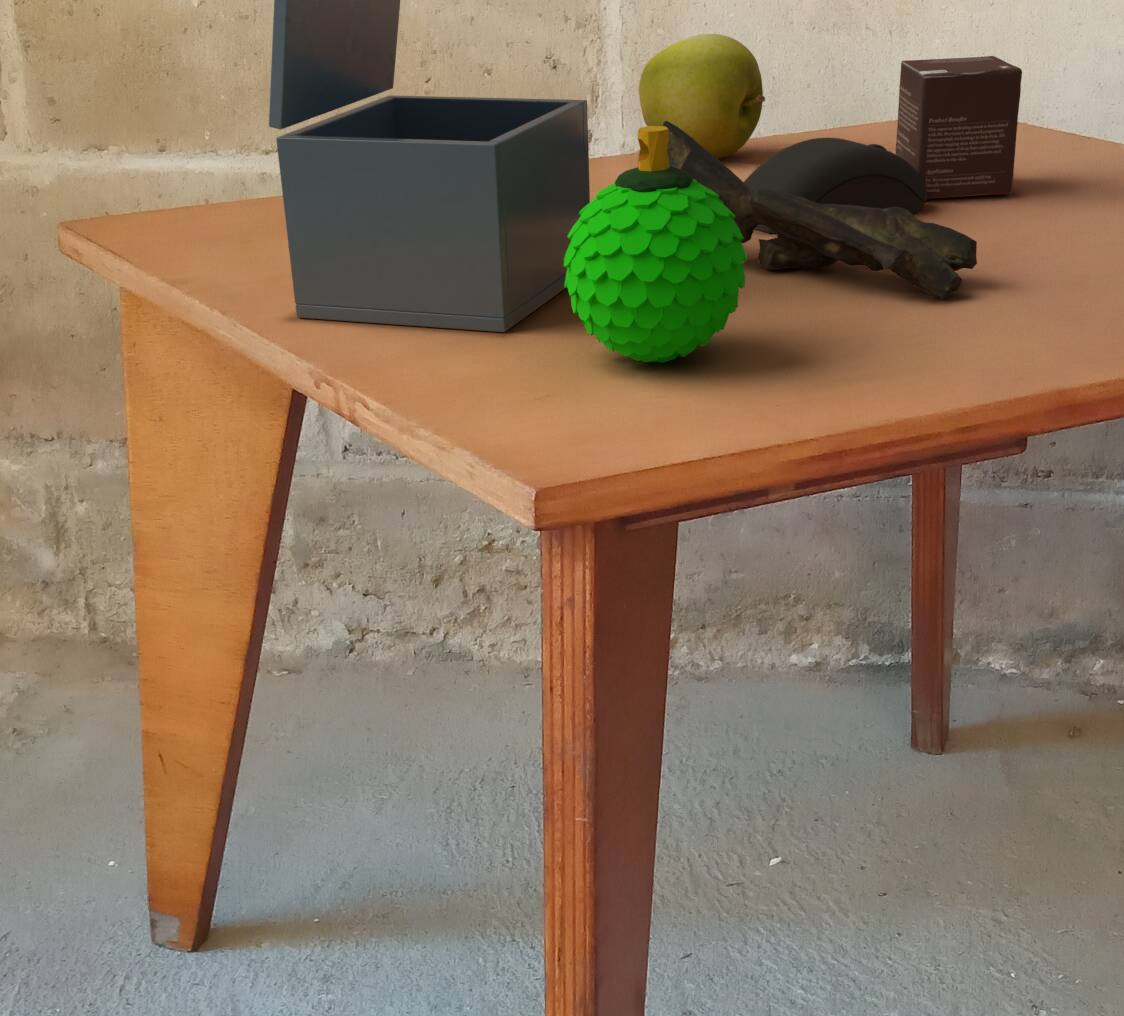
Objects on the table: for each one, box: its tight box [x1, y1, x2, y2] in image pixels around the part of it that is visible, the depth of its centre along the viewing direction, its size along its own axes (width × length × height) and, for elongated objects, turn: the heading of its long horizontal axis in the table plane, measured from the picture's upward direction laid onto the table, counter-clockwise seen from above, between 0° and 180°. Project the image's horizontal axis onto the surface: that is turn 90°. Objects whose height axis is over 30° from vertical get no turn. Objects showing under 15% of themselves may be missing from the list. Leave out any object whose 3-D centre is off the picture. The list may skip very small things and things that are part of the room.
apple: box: [638, 33, 766, 159], centre depth 116 cm, size 8×9×8 cm
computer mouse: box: [743, 137, 928, 234], centre depth 101 cm, size 6×11×4 cm, turn 117°
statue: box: [663, 121, 978, 300], centre depth 89 cm, size 6×6×20 cm
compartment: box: [275, 95, 591, 333], centre depth 87 cm, size 11×12×9 cm
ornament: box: [563, 125, 748, 364], centre depth 75 cm, size 8×8×10 cm
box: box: [895, 55, 1023, 200], centre depth 104 cm, size 6×6×7 cm
